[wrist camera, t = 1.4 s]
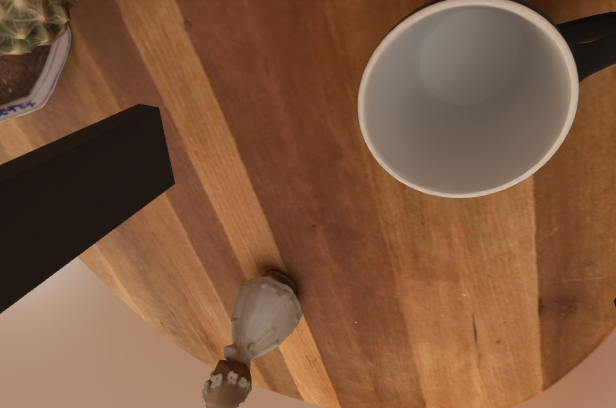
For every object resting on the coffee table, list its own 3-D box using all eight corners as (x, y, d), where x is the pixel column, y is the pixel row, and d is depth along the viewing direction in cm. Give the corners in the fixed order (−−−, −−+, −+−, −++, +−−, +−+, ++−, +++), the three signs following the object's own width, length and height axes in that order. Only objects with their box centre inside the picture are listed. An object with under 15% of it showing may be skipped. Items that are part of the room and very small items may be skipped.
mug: (418, 139, 28) (390, 212, 20) (379, 17, 25) (327, 48, 17) (621, 87, 22) (693, 164, 14) (607, -87, 18) (690, -111, 11)
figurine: (246, 261, 44) (159, 372, 32) (295, 259, 40) (217, 383, 29) (271, 311, 47) (201, 428, 36) (319, 313, 44) (258, 443, 32)
